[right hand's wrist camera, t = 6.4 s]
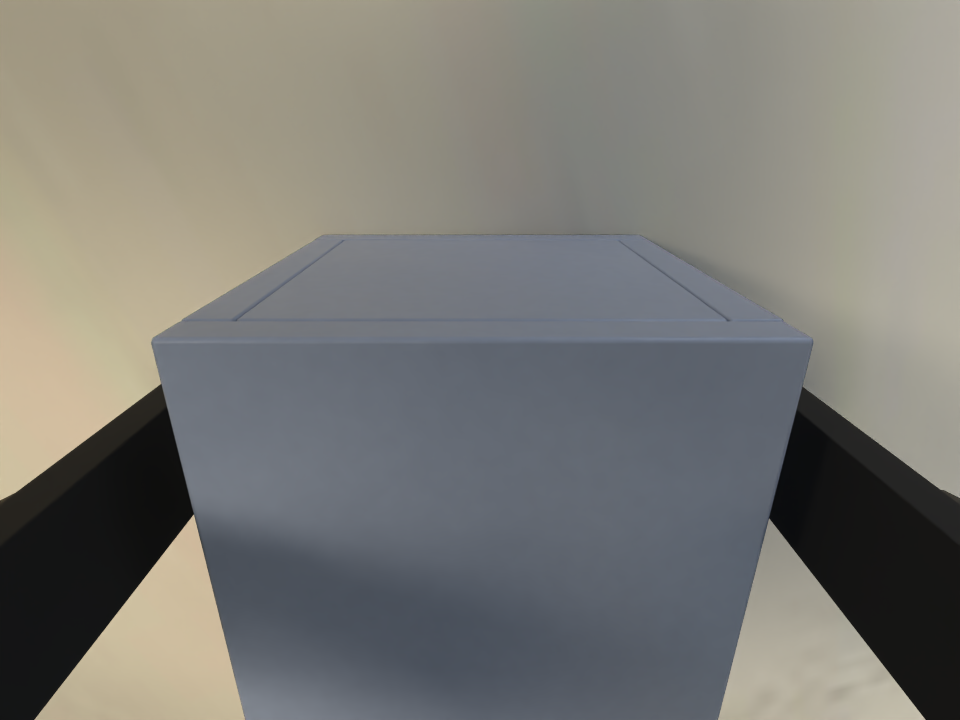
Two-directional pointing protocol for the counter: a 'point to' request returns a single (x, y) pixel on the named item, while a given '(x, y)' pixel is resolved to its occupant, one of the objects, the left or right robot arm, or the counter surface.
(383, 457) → the cabinet
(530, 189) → the counter surface
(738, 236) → the counter surface
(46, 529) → the right robot arm
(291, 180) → the counter surface
